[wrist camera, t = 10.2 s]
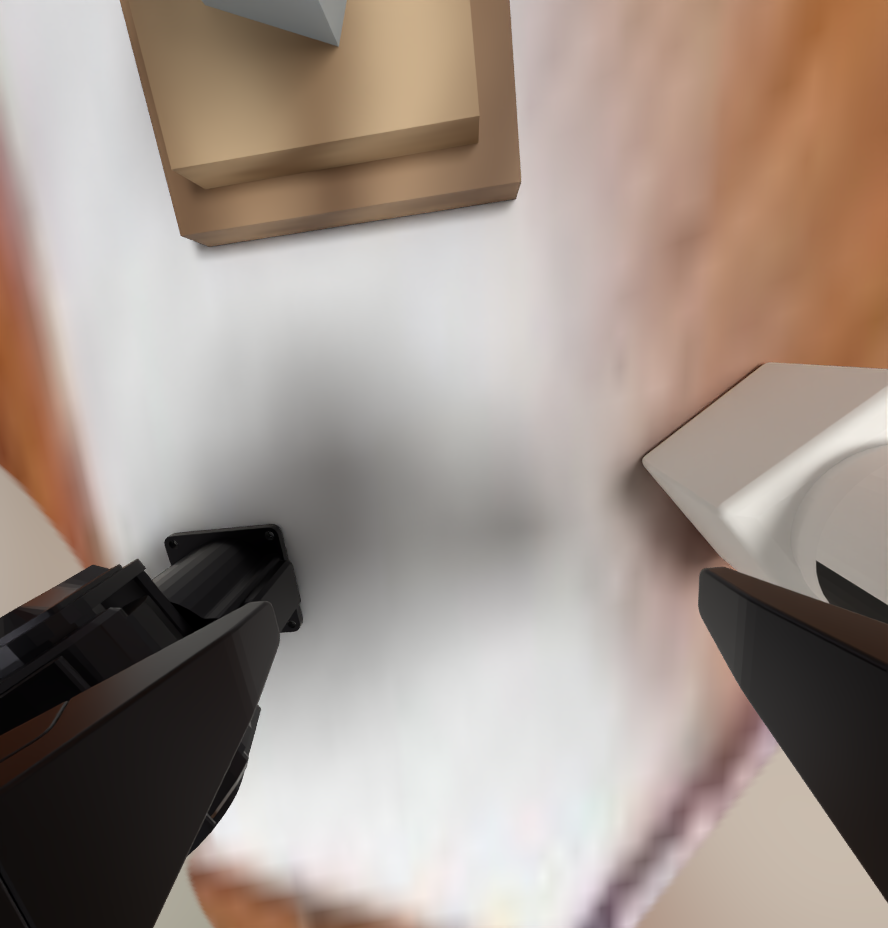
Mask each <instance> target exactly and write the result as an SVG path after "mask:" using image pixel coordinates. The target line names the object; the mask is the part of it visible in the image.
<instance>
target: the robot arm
mask: <svg viewBox="0 0 888 928" xmlns="http://www.w3.org/2000/svg"><path fill="white" fill-rule="evenodd" d="M268 531H269V532H272V533H273V534H274V537H271V536H270V535H269V534H268ZM174 541H176V542H177V544H178V545H176V544H175V543H174ZM164 543H165V548H166V551H167V554H168V557H169V560H170V563H171V566H170V567H169V568H168V569H166V570H165V571H164V572H162V573H161V574H160V575H158V576H157V577H155V578H154V579H153V580H151V578H150V577H149V576H148V575H147V573H146V572H145V571H144V570H145V569H146V568H145V566H144V565H143V564H142V563H141V562H140V560H139V559H136V560H134V561H133V562H131V563H129V564H128V565H126V566H124V567H123V568H122V566H121V565H120V564H118V565H117V566H115V567H113V568H111V569H107V568H103V567H100V566H96V565H91V566H90V567H88V568H86V569H85V570H83V571H81V572H79V573H78V574H76V575H74V576H73V577H71V578H69V579H67V580H66V581H64V582H62V583H60V584H59V585H57V586H55V587H54V588H52V589H50V590H48V591H46V592H45V593H43V594H41V595H39V596H38V597H36V598H34V599H32V600H30V601H29V602H27V603H25V604H23V605H21V606H20V607H18V608H16V609H14V610H13V611H11V612H9V613H8V614H6V615H4V616H2V617H1V618H0V928H153V927H154V925H155V923H156V921H157V919H158V916H159V914H160V912H161V910H162V908H163V905H164V903H165V902H166V899H167V897H168V895H169V893H170V891H171V889H172V887H173V884H174V882H175V880H176V878H177V876H178V874H179V872H180V870H181V868H182V865H183V863H184V861H185V859H186V857H187V856H188V855H189V854H190V853H191V852H192V851H193V850H195V849H196V848H197V847H198V846H199V845H200V844H201V842H202V841H203V840H204V839H205V838H206V837H207V836H208V835H209V834H210V833H211V832H212V830H213V829H214V828H215V826H216V825H217V824H218V822H219V821H220V820H221V819H222V817H223V816H224V814H225V813H226V811H227V810H228V808H229V807H230V805H231V803H232V802H233V800H234V798H235V796H236V794H237V792H238V790H239V787H240V784H241V782H242V779H243V775H244V771H245V769H246V767H247V763H248V759H249V757H248V756H249V752H250V749H251V745H252V741H253V737H254V734H255V730H256V726H257V722H258V719H259V715H260V711H261V708H260V707H259V705H258V702H259V699H260V696H261V694H262V691H263V688H264V685H265V682H266V680H267V677H268V674H269V671H270V668H271V666H272V663H273V660H274V657H275V654H276V652H277V649H278V646H279V642H280V633H283V632H294V631H297V630H298V629H299V628H300V626H301V625H302V623H303V618H302V614H301V610H300V606H299V603H300V602H301V599H300V595H299V591H298V587H297V583H296V579H295V574H294V570H293V566H292V563H291V562H290V561H289V560H288V556H287V552H286V548H285V544H284V540H283V536H282V532H281V530H280V528H279V527H278V526H276V525H273V524H268V525H257V526H247V527H236V528H225V529H214V530H204V531H193V532H182V533H174V534H172V535H170V536H169V537H167V538H166V539H165V542H164ZM698 607H699V612H700V615H701V617H702V619H703V621H704V623H705V625H706V627H707V629H708V630H709V632H710V634H711V636H712V638H713V639H714V641H715V643H716V645H717V647H718V649H719V650H720V652H721V654H722V656H723V658H724V660H725V661H726V663H727V665H728V667H729V669H730V670H731V672H732V674H733V676H734V678H735V679H736V681H737V683H738V684H739V686H740V688H741V689H742V691H743V692H744V694H745V696H746V697H747V699H748V700H749V702H750V703H751V704H752V706H753V707H754V709H755V710H756V712H757V713H758V715H759V716H760V718H761V719H762V720H763V722H764V723H765V725H766V726H767V728H768V729H769V731H770V732H771V734H772V735H773V737H774V738H775V739H776V741H777V742H778V744H779V745H780V747H781V748H782V750H783V751H784V752H785V754H786V755H787V757H788V758H789V760H790V761H791V763H792V764H793V766H794V767H795V768H796V770H797V771H798V773H799V774H800V776H801V777H802V779H803V780H804V782H805V783H806V785H807V786H808V787H809V789H810V790H811V792H812V793H813V795H814V796H815V798H816V799H817V801H818V802H819V803H820V805H821V806H822V808H823V809H824V811H825V812H826V814H827V815H828V817H829V818H830V819H831V821H832V822H833V824H834V825H835V827H836V828H837V830H838V831H839V833H840V834H841V836H842V837H843V838H844V840H845V841H846V843H847V844H848V846H849V847H850V848H851V850H852V852H853V853H854V854H855V856H856V857H857V859H858V860H859V862H860V863H861V865H862V866H863V868H864V869H865V870H866V872H867V873H868V875H869V876H870V878H871V879H872V881H873V882H874V884H875V885H876V886H877V888H878V889H879V891H880V892H881V893H882V895H883V896H884V898H885V900H886V901H887V902H888V624H886V623H883V622H880V621H878V620H875V619H872V618H869V617H866V616H863V615H860V614H858V613H855V612H852V611H849V610H846V609H843V608H840V607H838V606H835V605H832V604H829V603H826V602H823V601H820V600H818V599H815V598H812V597H809V596H806V595H803V594H800V593H798V592H795V591H792V590H789V589H786V588H783V587H780V586H778V585H775V584H772V583H769V582H766V581H763V580H760V579H758V578H755V577H752V576H749V575H746V574H743V573H740V572H738V571H735V570H732V569H729V568H726V567H713V568H704V569H703V570H702V571H701V572H700V576H699V597H698ZM290 620H292V621H294V622H295V623H296V624H294V623H292V622H291V621H290Z"/></svg>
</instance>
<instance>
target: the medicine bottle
mask: <svg viewBox="0 0 888 928" xmlns="http://www.w3.org/2000/svg"><path fill="white" fill-rule="evenodd" d="M642 463H643V465H644V467H645V468H646V469H647V471H648V472H649V473H650V474H651V475H652V476H653V478H654V479H655V480H656V481H657V482H658V484H659V485H660V486H661V487H662V488H663V490H664V491H665V492H666V493H667V494H668V495H669V497H670V498H671V499H672V500H673V501H674V503H675V504H676V505H677V506H678V507H679V508H680V510H681V511H682V512H683V513H684V514H685V516H686V517H687V518H688V519H689V520H690V521H691V523H692V524H693V525H694V526H695V527H696V529H697V530H698V531H699V532H700V533H701V534H702V536H703V537H704V538H705V539H706V540H707V542H708V543H709V544H710V545H711V546H712V548H713V549H714V550H715V551H716V552H717V553H718V555H719V556H720V557H722V558H723V559H724V560H725V561H726V562H728V563H729V564H730V565H731V566H732V567H733V568H735V569H736V570H737V571H738V572H740V573H743V574H746V575H749V576H752V577H755V578H758V579H760V580H763V581H766V582H769V583H772V584H775V585H778V586H780V587H783V588H786V589H789V590H792V591H795V592H798V593H800V594H803V595H806V596H809V597H812V598H815V599H818V600H820V601H823V602H826V603H829V604H832V605H835V606H838V607H840V608H843V609H846V610H849V611H852V612H855V613H858V614H860V615H863V616H866V617H869V618H872V619H875V620H878V621H880V622H883V623H886V624H888V369H879V368H861V367H844V366H826V365H809V364H791V363H774V362H768V363H766V364H763V365H762V366H760V367H759V368H758V369H757V370H755V371H754V372H753V373H751V374H750V375H749V376H748V377H746V378H745V379H744V380H742V381H741V382H740V383H739V384H737V385H736V386H735V387H733V388H732V389H731V390H729V391H728V392H727V393H726V394H724V395H723V396H722V397H720V398H719V399H718V400H717V401H715V402H714V403H713V404H711V405H710V406H709V407H707V408H706V409H705V410H704V411H702V412H701V413H700V414H698V415H697V416H696V417H695V418H693V419H692V420H691V421H689V422H688V423H687V424H686V425H684V426H683V427H682V428H680V429H679V430H678V431H676V432H675V433H674V434H673V435H671V436H670V437H669V438H667V439H666V440H665V441H664V442H662V443H661V444H660V445H658V446H657V447H656V448H654V449H653V450H652V451H651V452H649V453H648V454H647V455H645V456H644V458H643V460H642Z"/></svg>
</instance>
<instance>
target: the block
mask: <svg viewBox="0 0 888 928" xmlns="http://www.w3.org/2000/svg"><path fill="white" fill-rule="evenodd" d="M201 1H202V2H203V3H204V4H205V5H206V6H210V7H213V8H216V9H219V10H223V11H226V12H229V13H232V14H235V15H239V16H242V17H245V18H248V19H251V20H255V21H258V22H261V23H264V24H268V25H271V26H274V27H277V28H280V29H284V30H287V31H290V32H293V33H296V34H300V35H303V36H306V37H309V38H312V39H316V40H319V41H322V42H325V43H329V44H332V45H335V46H338V47H339V43H340V37H341V31H342V25H343V19H344V14H345V8H346V2H347V0H201Z"/></svg>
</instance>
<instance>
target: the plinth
mask: <svg viewBox="0 0 888 928" xmlns="http://www.w3.org/2000/svg"><path fill="white" fill-rule="evenodd" d="M120 3H121V7H122V11H123V14H124V18H125V22H126V26H127V30H128V34H129V38H130V41H131V45H132V49H133V53H134V57H135V61H136V65H137V68H138V72H139V76H140V80H141V84H142V88H143V92H144V96H145V99H146V103H147V107H148V111H149V115H150V119H151V123H152V126H153V130H154V134H155V138H156V142H157V146H158V150H159V153H160V157H161V161H162V165H163V169H164V173H165V177H166V181H167V184H168V188H169V192H170V196H171V200H172V204H173V208H174V211H175V215H176V219H177V223H178V227H179V231H180V235H181V236H182V237H185V238H188V239H190V240H193V241H196V242H198V243H201V244H204V245H206V246H209V247H211V246H217V245H223V244H230V243H236V242H243V241H249V240H255V239H262V238H268V237H275V236H281V235H287V234H294V233H300V232H307V231H313V230H319V229H326V228H332V227H339V226H345V225H351V224H358V223H364V222H371V221H377V220H383V219H390V218H396V217H403V216H409V215H415V214H422V213H428V212H435V211H441V210H447V209H454V208H460V207H467V206H473V205H479V204H486V203H492V202H499V201H505V200H511V199H516V197H517V193H518V190H519V187H520V184H521V170H520V155H519V139H518V124H517V109H516V93H515V78H514V63H513V47H512V32H511V17H510V1H509V0H347V2H346V8H345V14H344V19H343V25H342V31H341V37H340V43H339V47H338V46H335V45H332V44H329V43H325V42H322V41H319V40H316V39H312V38H309V37H306V36H303V35H300V34H296V33H293V32H290V31H287V30H284V29H280V28H277V27H274V26H271V25H268V24H264V23H261V22H258V21H255V20H251V19H248V18H245V17H242V16H239V15H235V14H232V13H229V12H226V11H223V10H219V9H216V8H213V7H210V6H206V5H205V4H204V3H203V2H202V1H201V0H120Z"/></svg>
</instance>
